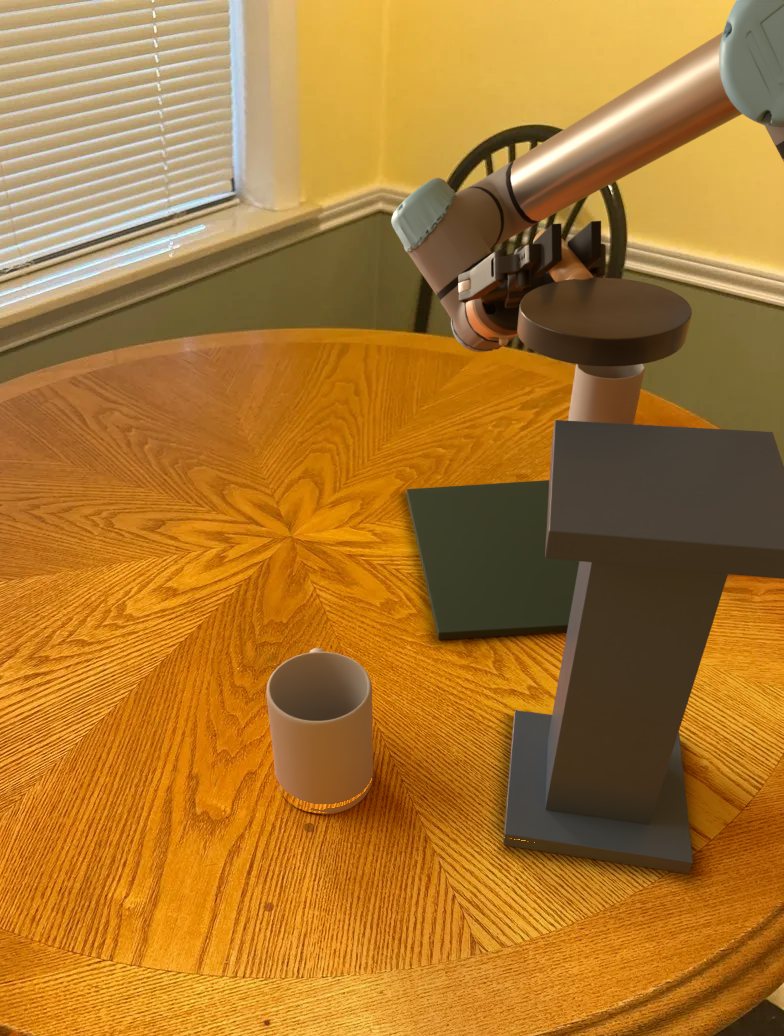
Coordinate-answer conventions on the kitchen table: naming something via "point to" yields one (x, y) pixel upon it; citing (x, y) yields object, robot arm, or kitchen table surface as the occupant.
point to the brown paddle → (601, 318)
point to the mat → (490, 560)
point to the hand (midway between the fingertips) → (576, 240)
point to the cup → (606, 393)
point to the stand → (637, 628)
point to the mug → (322, 728)
